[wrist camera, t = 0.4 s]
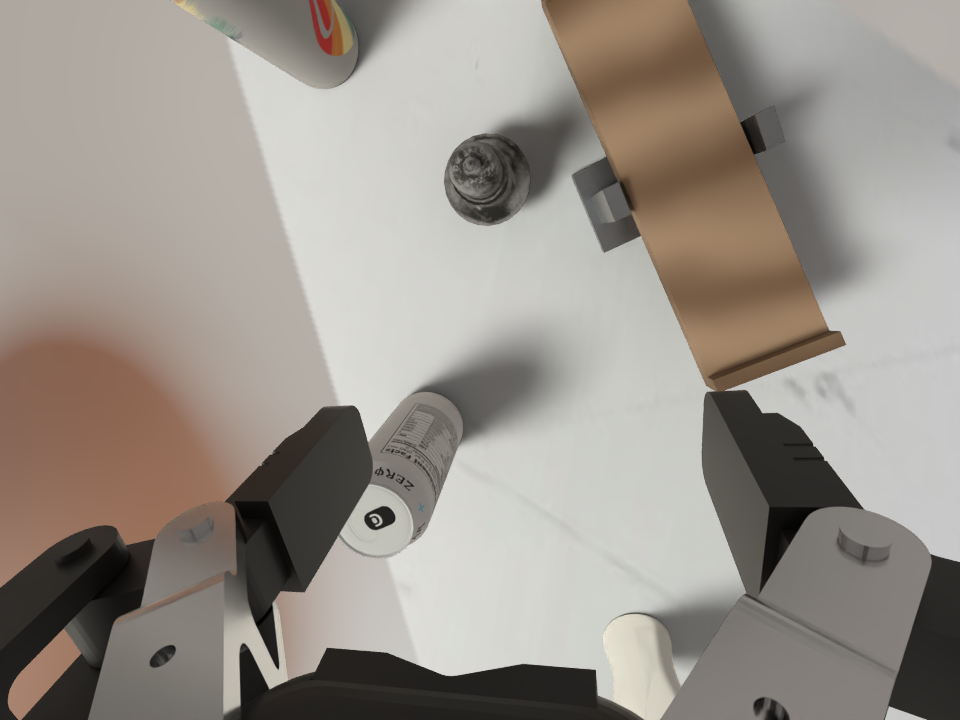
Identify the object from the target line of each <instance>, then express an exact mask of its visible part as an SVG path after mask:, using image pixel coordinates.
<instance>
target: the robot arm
mask: <svg viewBox="0 0 960 720" xmlns="http://www.w3.org/2000/svg"><path fill="white" fill-rule="evenodd" d="M702 468H703V474H704V479H705V483H706V486H707V488H708V491H709V494H710V496H711V499H712V502H713V504H714V507H715V510H716V512H717V515H718V518H719V520H720V523H721V526H722V529H723V531H724V534H725V537H726V539H727V542H728V545H729V547H730V550H731V553H732V555H733V558H734V561H735V563H736V566H737V569H738V571H739V574H740V577H741V579H742V582H743V585H744V587H745V590H746V593H747V594H745V595H743V596H742V597H740V599H739V600H738V601H737V602H736V604H735V605H734V606H733V608H732V609H731V611H730V613H729V614H728V616H727V617H726V619H725V620H724V622H723V623H722V625H721V626H720V628H719V630H718V631H717V633H716V634H715V636H714V637H713V639H712V640H711V642H710V643H709V645H708V647H707V648H706V650H705V651H704V653H703V654H702V656H701V657H700V659H699V660H698V662H697V663H696V665H695V667H694V668H693V670H692V671H691V673H690V674H689V676H688V677H687V679H686V680H685V682H684V684H683V685H682V687H681V688H680V690H679V691H678V693H677V694H676V696H675V697H674V699H673V701H672V702H671V704H670V705H669V707H668V708H667V710H666V711H665V713H664V714H663V716H662V718H661V719H660V720H885V717H886V714H887V711H888V708H889V706H890V707H893V708H895V709H898V710H901V711H904V712H907V713H910V714H912V715H915V716H918V717H921V718H924V719H927V720H960V562H957V561H953V560H949V559H945V558H941V557H938V556H935V555H932V554H930V553H929V551H928V549H927V547H926V546H925V545H924V543H923V542H922V541H921V540H920V539H919V538H918V537H917V536H916V535H915V534H914V533H912V532H911V531H910V530H908V529H907V528H905V527H904V526H902V525H900V524H899V523H897V522H895V521H893V520H891V519H889V518H887V517H884V516H882V515H879V514H876V513H873V512H870V511H866V510H864V509H863V507H862V506H861V505H860V504H859V502H858V501H857V500H856V498H855V497H854V496H853V494H852V493H851V492H850V491H849V489H848V488H847V487H846V485H845V484H844V483H843V482H842V480H841V479H840V478H839V476H838V475H837V474H836V472H835V471H834V470H833V469H832V467H831V466H830V465H829V463H828V462H827V461H824V457H823V456H822V454H821V453H820V452H819V450H818V449H817V448H816V447H813V443H812V441H811V440H810V439H809V437H808V436H807V435H806V434H805V432H804V431H803V430H802V428H801V427H800V426H798V425H797V424H795V423H793V422H792V421H790V420H788V419H787V418H785V417H783V416H782V415H780V414H779V413H762V412H761V410H760V409H759V407H758V406H757V404H756V403H755V401H754V400H753V399H752V397H751V396H750V394H749V393H748V391H746V390H738V391H714V392H707V393H706V394H705V398H704V413H703V436H702ZM372 473H373V460H372V455H371V452H370V448H369V445H368V441H367V437H366V434H365V430H364V427H363V423H362V420H361V416H360V413H359V411H358V409H357V408H356V407H355V406H330V407H323V408H321V409H320V410H319V412H318V413H317V414H316V415H315V416H314V417H313V418H312V419H311V420H310V421H309V422H308V423H307V424H306V425H305V426H304V427H303V428H301V429H300V430H298V431H297V432H295V433H294V434H292V435H290V436H289V437H288V438H286V439H285V440H284V441H283V442H282V443H281V444H280V445H279V446H278V447H277V448H276V449H275V450H274V451H273V455H269V456H268V457H267V459H265V461H264V462H263V463H262V466H259V467H258V468H257V469H256V470H255V471H254V472H253V473H252V474H251V475H250V476H249V477H248V478H247V479H246V480H245V481H244V482H243V483H242V484H241V485H240V486H239V488H238V489H237V490H236V491H235V492H234V493H233V494H232V495H231V496H230V497H229V498H228V499H227V500H226V501H225V502H212V503H207V504H203V505H200V506H197V507H195V508H192V509H190V510H188V511H186V512H184V513H182V514H181V515H179V516H177V517H176V518H174V519H173V520H172V521H170V522H169V523H168V524H167V525H166V526H165V527H164V528H163V529H162V530H161V531H160V532H159V534H158V535H157V537H156V539H152V540H148V541H143V542H139V543H134V544H130V545H125V543H124V541H123V539H122V538H121V536H120V534H119V533H118V531H117V529H116V528H114V527H113V526H106V525H105V526H97V527H93V528H89V529H85V530H83V531H80V532H78V533H75V534H73V535H71V536H69V537H67V538H65V539H63V540H61V541H60V542H58V543H56V544H55V545H53V546H52V547H50V548H49V549H48V550H46V551H45V552H44V553H43V554H41V555H40V556H39V557H37V558H36V559H35V560H34V561H33V562H31V563H30V564H29V565H28V566H26V567H25V568H24V569H23V570H22V571H20V572H19V573H18V574H17V575H15V576H14V577H13V578H12V579H11V580H9V581H8V582H7V583H6V584H5V585H3V586H2V587H1V588H0V720H18V719H17V718H16V717H15V716H14V714H13V713H12V712H11V711H10V709H9V707H8V694H9V690H10V688H11V686H12V683H13V682H14V680H15V679H16V677H17V676H18V675H19V673H20V672H21V671H22V670H23V669H24V668H25V667H26V666H27V665H28V664H29V663H30V662H31V661H32V660H33V659H34V658H35V657H36V656H37V655H38V654H39V653H40V652H41V651H42V650H43V648H45V646H47V645H48V644H49V643H50V642H51V641H52V640H53V638H54V637H56V636H57V635H58V633H59V632H60V631H62V629H65V630H66V632H67V633H68V635H69V636H70V637H71V639H72V640H73V642H74V643H75V645H76V646H77V648H78V649H79V650H80V652H81V655H80V656H79V657H78V658H77V659H76V660H75V661H74V662H73V663H72V665H71V666H70V667H69V668H68V669H67V670H66V671H65V672H64V673H63V675H62V676H61V677H60V678H59V679H58V680H57V681H56V682H55V683H54V684H53V686H52V687H51V688H50V689H49V690H48V691H47V692H46V693H45V694H44V696H43V697H42V698H41V699H40V700H39V701H38V702H37V703H36V704H35V705H34V707H33V708H32V709H31V710H30V711H29V712H28V713H27V714H26V715H25V717H24V718H23V719H22V720H644V719H643V718H641V717H640V716H638V715H637V714H635V713H634V712H632V711H630V710H629V709H627V708H625V707H623V706H621V705H619V704H617V703H615V702H613V701H610V700H608V699H605V698H602V697H600V696H598V693H597V680H596V670H590V669H578V668H565V667H553V666H541V665H529V664H520V665H515V666H509V667H503V668H498V669H492V670H486V671H481V672H475V673H469V674H464V675H458V676H445V675H441V674H439V673H436V672H434V671H431V670H429V669H426V668H424V667H421V666H419V665H416V664H414V663H411V662H409V661H406V660H404V659H401V658H399V657H396V656H394V655H391V654H389V653H384V652H383V653H382V652H371V651H358V650H347V649H335V648H327V649H326V651H325V653H324V655H323V657H322V659H321V661H320V664H319V665H318V667H317V670H316V671H315V672H312V673H309V674H305V675H302V676H299V677H296V678H293V679H291V680H289V681H288V678H287V671H286V662H285V654H284V647H283V639H282V630H281V622H280V615H279V610H278V607H277V605H276V602H275V599H276V597H277V596H278V594H279V593H280V591H288V592H305V591H306V589H307V587H308V586H309V584H310V582H311V581H312V579H313V577H314V576H315V574H316V572H317V570H318V569H319V567H320V565H321V564H322V562H323V560H324V559H325V557H326V555H327V554H328V552H329V550H330V549H331V547H332V545H333V544H334V542H335V540H336V539H337V537H338V535H339V534H340V532H341V530H342V529H343V527H344V525H345V524H346V522H347V520H348V519H349V517H350V515H351V514H352V512H353V510H354V509H355V507H356V505H357V504H358V502H359V500H360V499H361V497H362V495H363V493H364V492H365V490H366V488H367V487H368V485H369V483H370V481H371V478H372Z"/></svg>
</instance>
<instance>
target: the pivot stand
mask: <svg viewBox="0 0 960 720" xmlns="http://www.w3.org/2000/svg"><path fill="white" fill-rule="evenodd" d="M740 124H741V126H742V129H743V131H744V133H745V136H746V138H747V140H748V143H749V145H750V147H751V150H752V152H753V154H757V153H760V152H763V151H765V150H768V149H770V148H772V147H774V146H776V145H778V144H780V143H783V142H785V139H784V136H783V133H782V130H781V126H780V123H779V120H778V117H777V114H776V111H775V108H774V106H772V107H770V108H768V109H766V110H764V111H762V112H760V113H758V114H756V115H754V116H752V117H750V118H748V119H746V120H744V121H743V122H741V123H740ZM572 179H573V181H574V184H575V186H576V188H577V191H578V193H579V196H580V198H581V200H582V203H583V205H584V208H585V210H586V212H587V215H588V217H589V220H590V222H591V225H592V227H593V229H594V232H595V234H596V237H597V239H598V241H599V244H600V246H601V249H602V251H603V252H604V253H605V252H607V251H609V250H611V249H613V248H615V247H618V246H620V245H622V244H624V243H626V242H628V241H631V240H633V239H635V238H637V237H639V236H641V234H640V232H639V230H638V227H637V225H636V223H635V220H634V218H633V216H632V213H631V211H630V209H629V207H628V204H627V202H626V199H625V197H624V194H623V192H622V189H621V187H620V184H619V182H618V181H617V179H616V177H615V174H614V172H613V170H612V167H611V165H610V163H609V160H608V158H607V157H606V158H604V159H602V160H600V161H599V162H597V163H595V164H593V165H591V166H589V167H587V168H585V169H583V170H581V171H579V172H577V173H575V174H573V175H572Z"/></svg>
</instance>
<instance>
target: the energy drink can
mask: <svg viewBox="0 0 960 720" xmlns="http://www.w3.org/2000/svg"><path fill="white" fill-rule="evenodd" d="M462 433H463V422H462V418H461V415H460V413H459V411H458V409H457V408H456V407H455V405H454V404H453V403H452V402H451V401H450V400H448V399H447V398H445V397H444V396H441V395H439V394H436V393H432V392H420V393H415V394H412V395H410V396H408V397H407V398H405V399H404V400H403V401H402V402H401V403H400V404H399V405H398V406H397V408H396V409H395V410H394V411H393V413H392V414H391V415H390V416H389V417H388V419H387V420H386V421H385V422H384V424H383V425H382V426H381V427H380V429H379V430H378V431H377V432H376V433H375V435H374V436H373V437H372V438H371V440H370V441H369V442H368V445H369V448H370V452H371V455H372V460H373V473H372V478H371V481H370V483H369V485H368V487H367V488H366V490H365V492H364V493H363V495H362V497H361V499H360V500H359V502H358V504H357V505H356V507H355V509H354V510H353V512H352V514H351V515H350V517H349V519H348V520H347V522H346V524H345V525H344V527H343V529H342V530H341V532H340V534H339V535H338V538H339V539H340V540H341V542H342V543H343V544H344V545H345V546H346V547H348V549H350V550H351V551H353V552H355V553H356V554H359V555H361V556H363V557H367V558H373V559H383V558H389V557H392V556H395V555H397V554H398V553H400V552H401V551H403V550H404V549H405V548H406V547H407V546H408V545H409V544H411V543H413V542H415V541H416V540H417V539H418V538H419V537H421V536H422V534H423V533H424V532H425V530H426V528H427V526H428V524H429V522H430V519H431V516H432V514H433V511H434V508H435V506H436V503H437V501H438V498H439V495H440V493H441V490H442V487H443V485H444V482H445V480H446V477H447V474H448V472H449V469H450V466H451V464H452V461H453V459H454V456H455V453H456V451H457V448H458V445H459V443H460V440H461V438H462Z"/></svg>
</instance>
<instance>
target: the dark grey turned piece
mask: <svg viewBox="0 0 960 720" xmlns="http://www.w3.org/2000/svg"><path fill="white" fill-rule="evenodd" d="M530 179H531V177H530V170H529V165H528V163H527V160H526V158H525V156H524V154H523V153H522V151H521V150H520V149H519V148H518V146H517V145H516V144H514V143H513V142H512V141H510V140H509V139H508V138H505V137H502V136H500V135H497V134H481V135H476V136H473V137H471V138H469V139H467V140H465V141H464V142H462V143H461V144H460V145H459V146H458V147H457V148H456V149H455V150H454V152H453V153H452V155H451V157H450V158H449V160H448V163H447V167H446V170H445V179H444V185H445V190H446V195H447V197H448V200H449V202H450V204H451V206H452V207H453V208H454V210H455V211H456V212H457V213H458V214H459V215H460V216H461V217H463V218H464V219H465V220H467V221H469V222H472V223H474V224H477V225H485V226H490V225H496V224H500V223H502V222H504V221H506V220H508V219H510V218H511V217H513V216H514V215H515V214H516V213H517V212H518V211H519V210H520V208H521V207H522V205H523V204H524V203H525V201H526V198H527V195H528V193H529V189H530Z"/></svg>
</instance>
